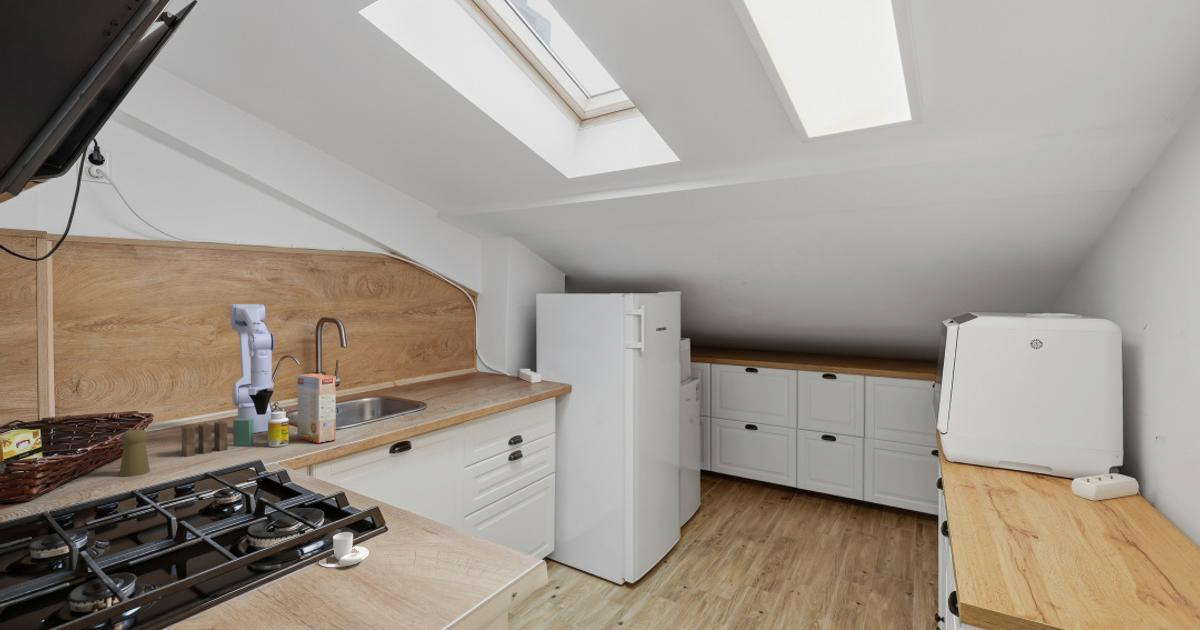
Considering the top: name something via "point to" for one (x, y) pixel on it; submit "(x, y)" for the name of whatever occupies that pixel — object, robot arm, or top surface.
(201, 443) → the domino
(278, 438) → the supplement bottle
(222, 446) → the domino
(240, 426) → the domino head
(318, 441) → the cracker box
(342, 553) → the teacup and saucer
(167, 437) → the top surface
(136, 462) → the olive green pepper mill
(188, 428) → the domino
